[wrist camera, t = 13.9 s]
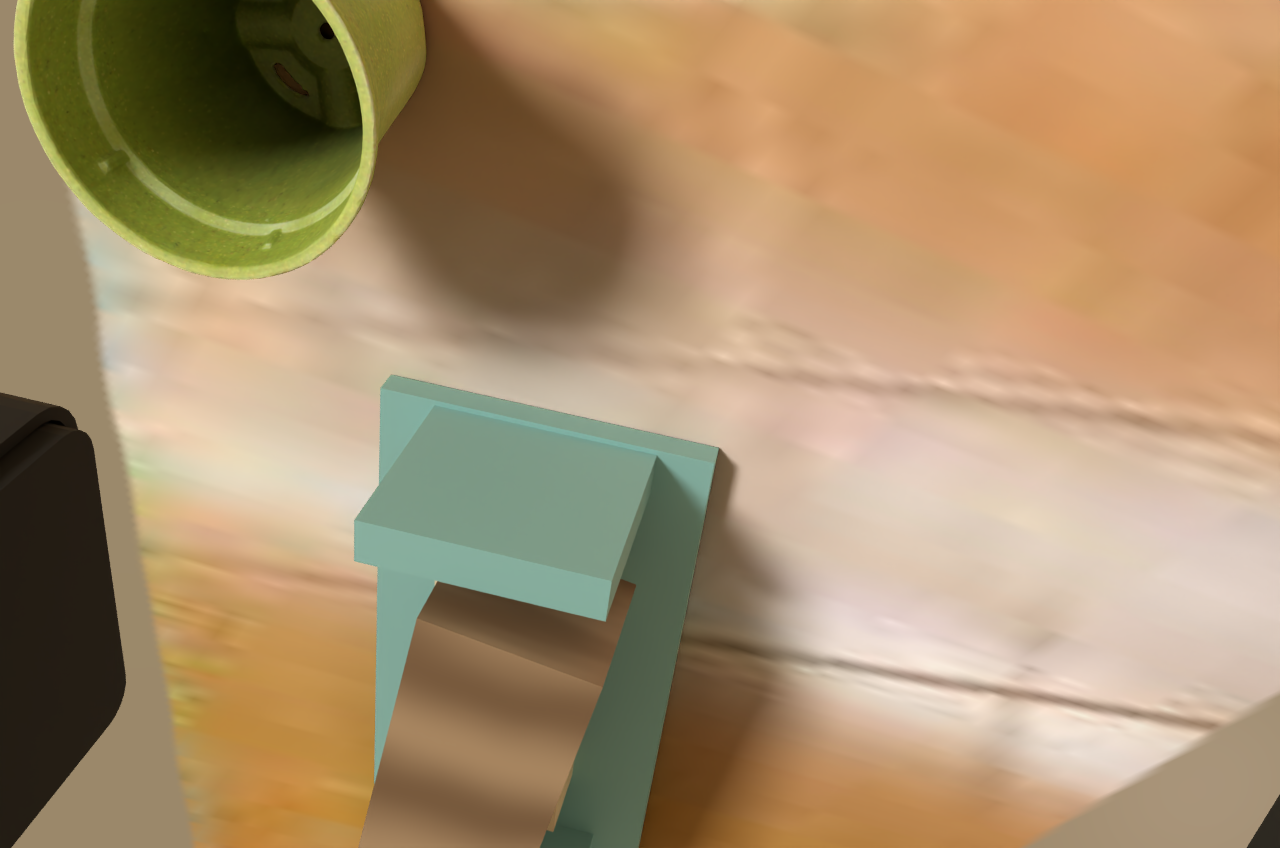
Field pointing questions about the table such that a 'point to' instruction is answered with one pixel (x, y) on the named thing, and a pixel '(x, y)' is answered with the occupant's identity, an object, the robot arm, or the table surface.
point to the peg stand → (542, 561)
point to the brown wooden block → (488, 720)
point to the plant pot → (218, 118)
